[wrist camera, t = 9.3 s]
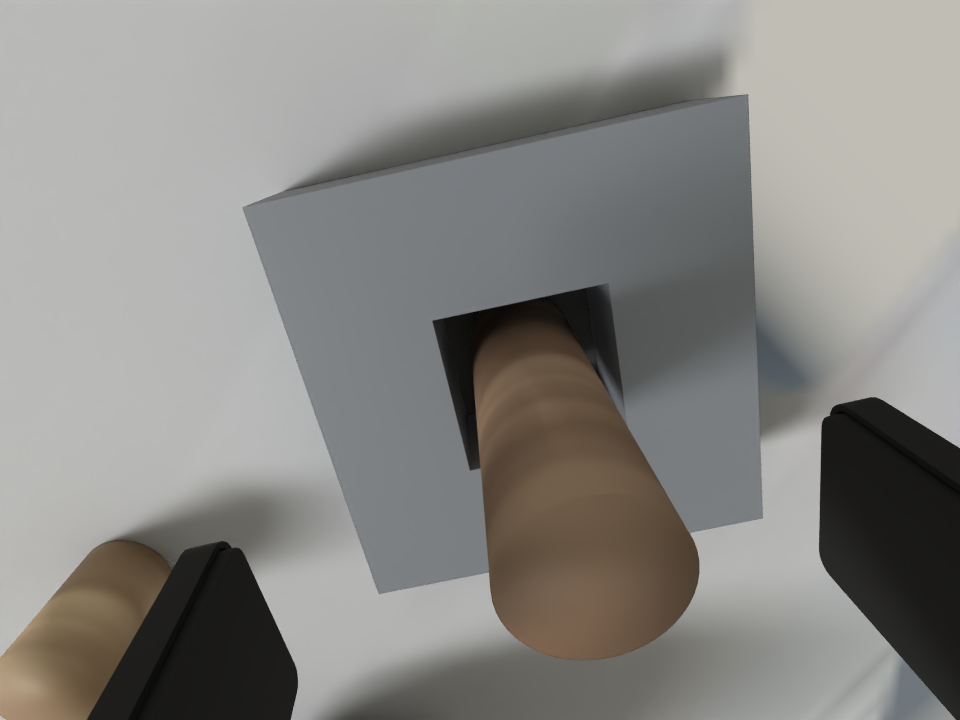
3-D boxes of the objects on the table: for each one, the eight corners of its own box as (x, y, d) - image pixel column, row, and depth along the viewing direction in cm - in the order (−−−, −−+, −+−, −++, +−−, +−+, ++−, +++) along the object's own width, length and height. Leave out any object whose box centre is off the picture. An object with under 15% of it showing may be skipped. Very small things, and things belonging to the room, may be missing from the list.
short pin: (68, 550, 22) (-38, 666, 17) (152, 533, 21) (69, 645, 17) (106, 615, 23) (17, 742, 18) (186, 599, 23) (117, 722, 18)
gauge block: (282, 191, 17) (242, 207, 14) (690, 100, 17) (748, 94, 14) (389, 523, 22) (379, 593, 18) (715, 458, 21) (762, 518, 18)
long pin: (461, 303, 19) (470, 517, 8) (560, 282, 19) (692, 473, 8) (481, 393, 20) (511, 676, 10) (575, 373, 20) (706, 639, 10)
